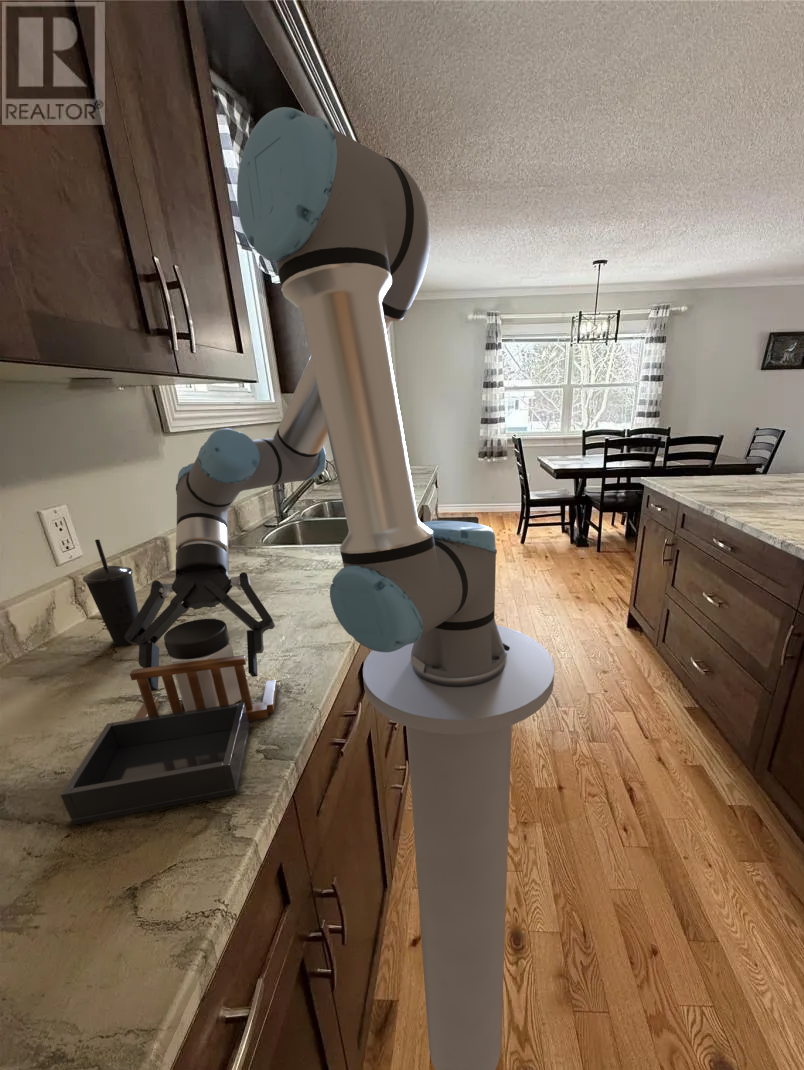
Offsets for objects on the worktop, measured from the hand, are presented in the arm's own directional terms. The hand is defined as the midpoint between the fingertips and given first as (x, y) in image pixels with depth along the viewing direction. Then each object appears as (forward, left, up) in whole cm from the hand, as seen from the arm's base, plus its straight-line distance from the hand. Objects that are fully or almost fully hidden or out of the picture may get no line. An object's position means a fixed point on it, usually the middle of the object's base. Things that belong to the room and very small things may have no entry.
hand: (203, 681), depth 69 cm
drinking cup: (+20, -29, -5) cm, 36 cm away
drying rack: (0, +1, -5) cm, 5 cm away
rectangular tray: (+2, +13, -5) cm, 14 cm away
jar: (0, -2, -5) cm, 5 cm away
